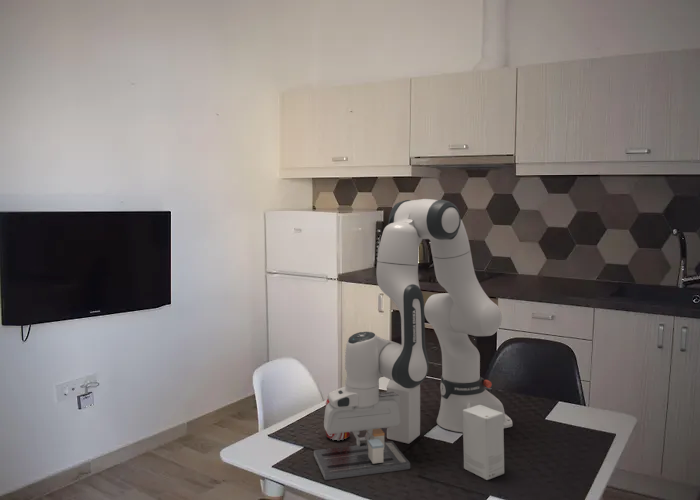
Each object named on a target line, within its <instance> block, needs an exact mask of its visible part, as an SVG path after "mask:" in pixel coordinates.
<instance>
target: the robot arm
mask: <svg viewBox="0 0 700 500" xmlns="http://www.w3.org/2000/svg"><path fill="white" fill-rule="evenodd" d="M389 213H390V214H389V217H388V224H387V225H386V226H385V227H384V228H383V231H382V235H381V238H380V242H379V247H378V251H377V260H376V268H375V269H376V272H375V274H376V281H377V285H378V287H379V289H380V290H381V292H382V293H384V294H385V296H387V298H389V299H390V300H392V302H393V303H394V304H395V305H396V307H397V309H398V312H399V313H400V324H401V325H400V327H401V329H400V331H401V343H398V342H395V341H392V340H389V339H385V338H382V337H380V336H378V335H377V334H375V333H374V332H372V331H360V332H356V333H354V334H352V335H351V336H349V338H348V339H347V341H346V344H345V345H346V347H345V355H344V356H345V357H344V360H345V361H344V366H345V367H344V368H345V371H346V377H345V378H346V379H345V384H344V386H342V387H340V388H337V389H335V390H332V391H330V392H329V393H327V399H329V403H328V404H327V406H326V405H325V408H324V409H325V410H324V417H323V419H324V420H323V427H324V431H325V432H326V431H327V432H328V433H329V434H336V433H345V432H350V433H351V432H352V434H353V436H354V437H355V439H356V445H357V446H358V447H360V446H367V445H368V440H370V437H371V435H372V433H373V429H380V428H381V429H387V428H389V427H397V426H398V425H399V423H400V413H399V407H398V406H399V404H400V397H399V395H398V394H397V393H394V392H387V391H385V392H384V391H383V392H380V382H379V381H380V378H386V379H388V380H389V381H390V380H392V381H395V382H396V383H397V384H399V385H401V386H402V387H404V388H414V387H416V386H418V385H419V384H420V385H421V384H422V383H423V382H424V380H426V378H427V375H428V373H429V370H430V369H429V368H430V366H429V365H430V363H429V357H428V353H427V349H426V327H425V326H426V325H425V324H426V323H425V322H426V321H427V322H428V324H430V326H431V327H432V329H433V330H434V332H435V334H436V337H437V339H438V342H439V345H440V351H441V363H442V364H441V365H442V366H441V367H442V372H441V373H442V375H441V376H440V388H439V389H440V395H441V397H440V404H439V406H440V407H439V411H438V415H437V418H436V424H437V425H438V426H439V427H441V428H443V429H445V430H447V431H451V432H458V433H463V410H464V409H468V408H471V407H474V406H477V405H482V406H485V407H488V408H490V409H493V410H496V411H499V412H502V413H503V426H504V429H507V428H511V427H513V420H512V419H511V417H509V416H508V415H507V414H506V413H505V409H504V405H503V403H502V401H500V399H499V398H497V397H496V396H495V395H494V394H493V393H491V392H489V391H488V390H487V389H486V388H488V389H490V388H491V387H492V385H493V384H492V381H490V380H488V379H484V378H483V377H481V376H480V374H481V373H480V372H481V371H480V369H481V362H480V361H481V355H480V352H479V350H478V348H477V347H476V346H475V345H474V344H473V343H472V341H471V340H470V337H469V335H470V336H474V337H490V336H493V335H495V333H497V332H498V331H499V329H500V327H501V324H502V320H503V319H502V318H503V317H502V312H501V309H500V307H499V306H498V304H497V303H495V302H494V301H493V300H492V299H490V297H489V296H488V295H487V294H486V292H485V290H484V289H483V287H482V286H481V283H480V282H479V280H478V278H477V275H476V272H475V267H474V264H473V258H472V257H473V256H472V251H471V246H470V241H469V237H468V234H467V231H466V227H465V224H464V222H463V220H462V218H461V215H460V213H461V212H460V210H459V209H458V207H457V206H456V204H454V203H453V202H451V201H449V200H445V199H432V198H431V199H430V198H422V199H413V200H410V199H406V200H401V201H398V202H397V203H396V204H395V205H393V207H392V209H391V211H390V212H389ZM423 240H429V242H430V249H431V250H430V251H431V256H432V261H433V267H434V268H433V269H434V274H435V277H436V280H437V283H438V284H439V285H440V286H441V287H442V288H444V290H445V291H446V292H445V293H444V292H443V293H442V292H441V293H433V294H432V295H430V296H429V297H428V298H427V299H426V302H425V300H424V294H423V292H422V290H421V286H420V282H419V262H420V259H419V258H420V257H419V256H420V244H421V243H422V241H423ZM425 319H426V321H425ZM360 431H366V432H365V435H364V436H363V437H359V435H360Z"/></svg>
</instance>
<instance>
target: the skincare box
mask: <svg viewBox="0 0 700 500" xmlns="http://www.w3.org/2000/svg"><path fill="white" fill-rule="evenodd" d="M504 430H505V428H504V426H503V413H502V412H499V411H496V410H493V409H490V408H488V407H485V406H482V405H477V406H474V407H471V408H468V409H464V410H463V432H462V437H463V438H462V439H463V444H462V445H463V469H465V470H467V471H468V472H470V473H472V474H475V475H476V476H477V477H480V478H482V479H483V480H486V481H489V480H491V479H495V478H496V477H499V476H502V475H504V474H505V442H504V441H505V439H504V433H505V432H504Z"/></svg>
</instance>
